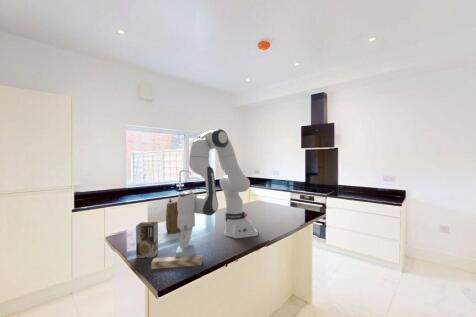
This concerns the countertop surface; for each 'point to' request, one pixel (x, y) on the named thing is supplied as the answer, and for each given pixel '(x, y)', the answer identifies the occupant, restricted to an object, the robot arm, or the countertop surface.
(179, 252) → the blue block
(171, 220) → the block
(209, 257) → the countertop surface
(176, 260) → the oak board
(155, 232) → the coffee box
